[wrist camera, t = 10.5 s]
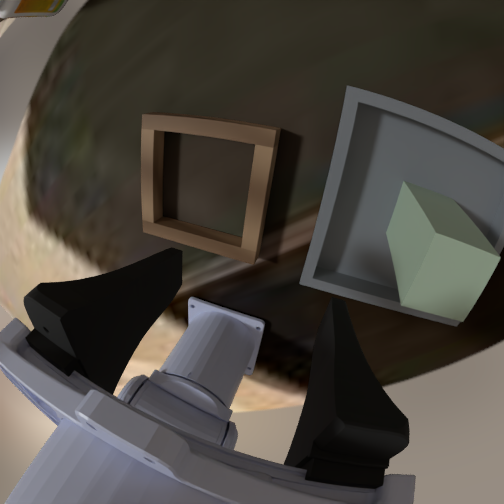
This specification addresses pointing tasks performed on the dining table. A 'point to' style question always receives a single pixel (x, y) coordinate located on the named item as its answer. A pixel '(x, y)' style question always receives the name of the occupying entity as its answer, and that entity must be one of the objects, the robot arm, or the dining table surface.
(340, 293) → the tray
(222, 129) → the square brown frame
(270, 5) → the dining table surface
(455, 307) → the green elongated block
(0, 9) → the supplement bottle
